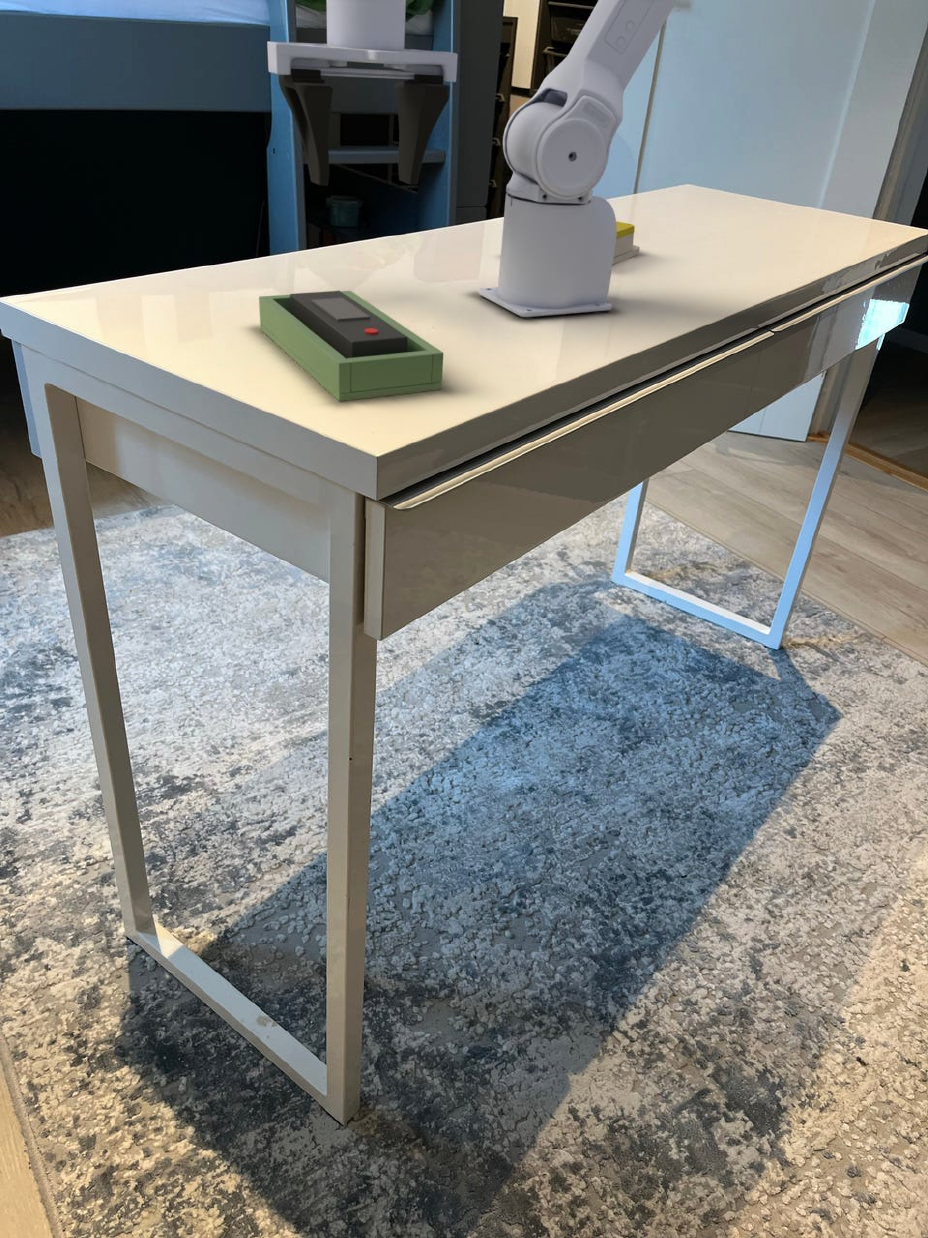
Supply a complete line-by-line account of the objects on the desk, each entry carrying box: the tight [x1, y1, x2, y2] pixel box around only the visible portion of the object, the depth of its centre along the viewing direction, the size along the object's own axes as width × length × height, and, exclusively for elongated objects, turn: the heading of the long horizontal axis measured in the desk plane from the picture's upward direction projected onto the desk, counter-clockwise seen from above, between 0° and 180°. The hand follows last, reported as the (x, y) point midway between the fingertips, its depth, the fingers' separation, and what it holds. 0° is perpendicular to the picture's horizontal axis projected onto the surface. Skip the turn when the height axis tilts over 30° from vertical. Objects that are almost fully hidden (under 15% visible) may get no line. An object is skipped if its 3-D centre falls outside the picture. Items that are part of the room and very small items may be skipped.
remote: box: [289, 290, 408, 359], centre depth 65 cm, size 12×4×3 cm, turn 28°
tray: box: [258, 290, 444, 402], centre depth 66 cm, size 7×16×2 cm, turn 28°
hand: (364, 182), depth 74 cm, fingers open, 7 cm apart
